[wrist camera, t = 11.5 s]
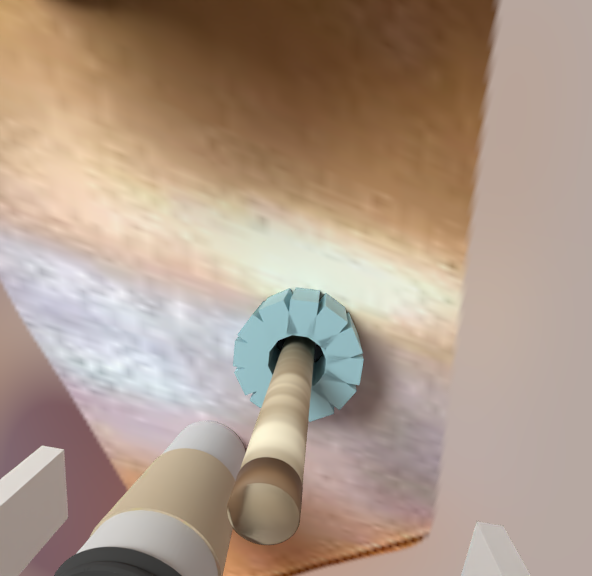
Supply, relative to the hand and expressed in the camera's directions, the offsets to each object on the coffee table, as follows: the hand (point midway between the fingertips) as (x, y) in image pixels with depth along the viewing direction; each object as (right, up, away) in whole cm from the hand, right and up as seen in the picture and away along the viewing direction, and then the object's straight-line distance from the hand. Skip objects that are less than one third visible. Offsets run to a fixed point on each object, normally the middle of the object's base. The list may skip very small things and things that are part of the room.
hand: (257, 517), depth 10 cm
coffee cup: (-7, -8, +20) cm, 22 cm away
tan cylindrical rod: (+2, +3, +16) cm, 17 cm away
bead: (+2, +3, +16) cm, 17 cm away
